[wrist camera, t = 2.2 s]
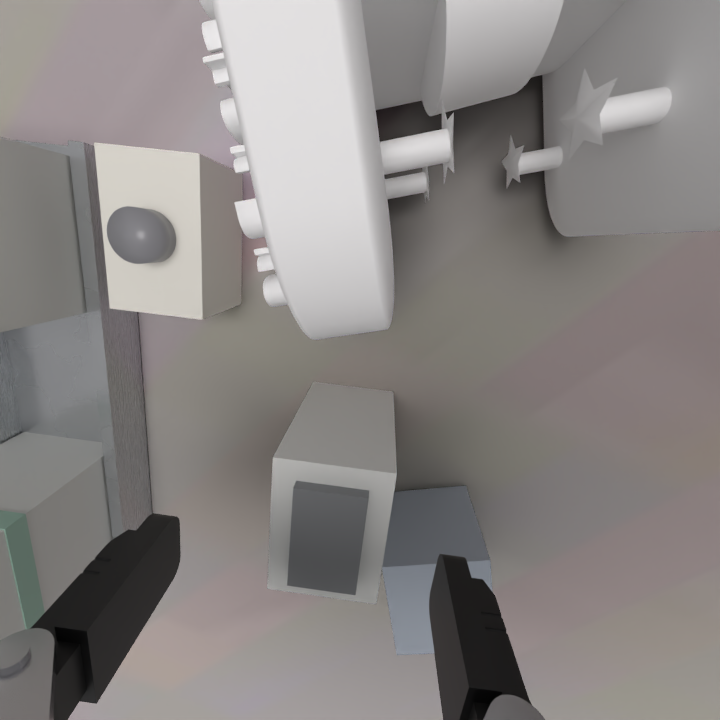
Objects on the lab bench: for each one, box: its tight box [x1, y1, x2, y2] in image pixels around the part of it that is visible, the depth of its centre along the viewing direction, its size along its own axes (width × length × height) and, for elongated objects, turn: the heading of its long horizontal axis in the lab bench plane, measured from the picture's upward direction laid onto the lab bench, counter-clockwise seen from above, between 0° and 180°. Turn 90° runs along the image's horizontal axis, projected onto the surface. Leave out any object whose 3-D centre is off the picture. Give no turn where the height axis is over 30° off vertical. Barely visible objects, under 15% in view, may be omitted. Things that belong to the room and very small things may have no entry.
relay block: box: [382, 486, 492, 655], centre depth 18 cm, size 4×5×5 cm
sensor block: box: [94, 143, 243, 320], centre depth 15 cm, size 4×6×5 cm, turn 174°
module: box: [267, 382, 397, 604], centre depth 16 cm, size 4×6×7 cm
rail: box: [0, 140, 152, 539], centre depth 18 cm, size 6×20×2 cm, turn 174°
